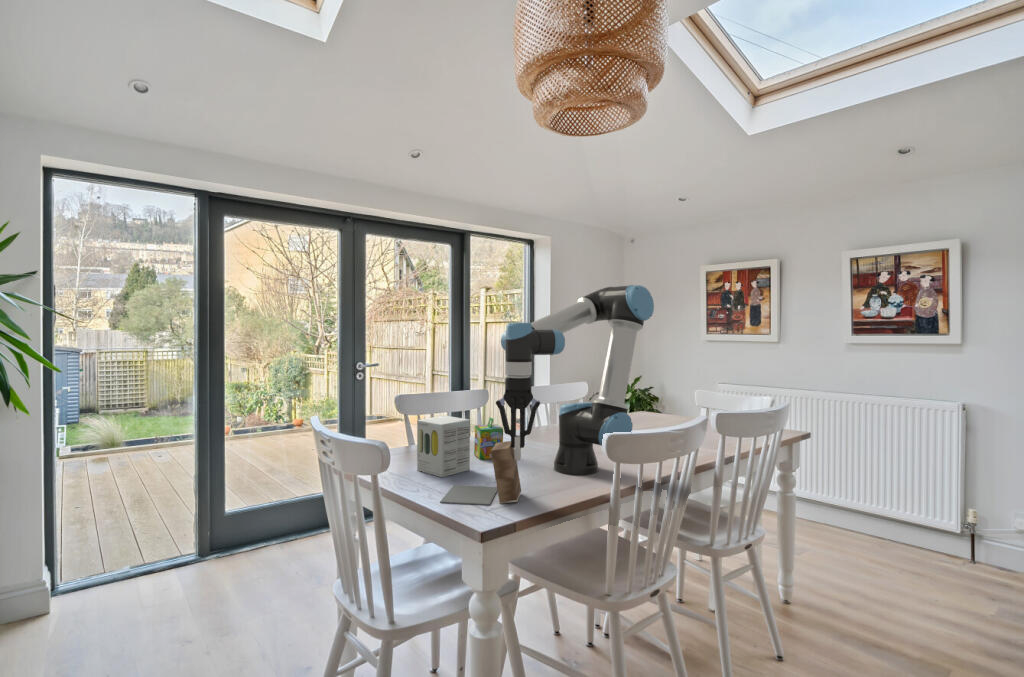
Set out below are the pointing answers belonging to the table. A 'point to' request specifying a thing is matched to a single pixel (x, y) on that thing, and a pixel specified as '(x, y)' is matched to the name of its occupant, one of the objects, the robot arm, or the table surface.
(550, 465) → the table surface
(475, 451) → the chalk box
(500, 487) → the walnut block
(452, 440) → the supplement box
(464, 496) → the mat
